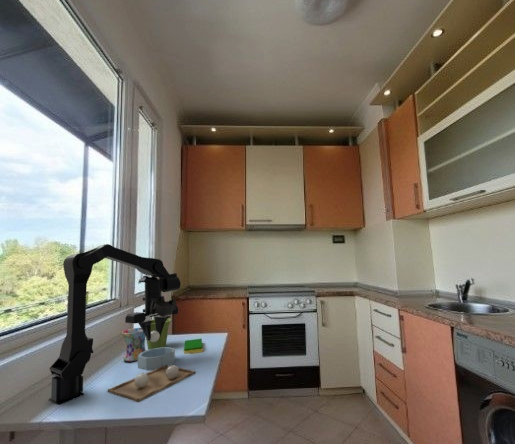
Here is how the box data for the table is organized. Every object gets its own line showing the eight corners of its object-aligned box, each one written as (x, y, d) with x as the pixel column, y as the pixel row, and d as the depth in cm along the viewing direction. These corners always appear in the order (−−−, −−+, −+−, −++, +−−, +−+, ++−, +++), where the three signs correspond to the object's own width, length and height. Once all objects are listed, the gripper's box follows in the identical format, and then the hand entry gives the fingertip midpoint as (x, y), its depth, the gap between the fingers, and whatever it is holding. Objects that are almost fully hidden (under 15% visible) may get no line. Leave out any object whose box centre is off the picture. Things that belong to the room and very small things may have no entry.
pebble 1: (139, 391, 79) (139, 376, 79) (131, 389, 81) (131, 374, 81) (151, 385, 82) (151, 371, 82) (143, 383, 84) (143, 370, 84)
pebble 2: (171, 382, 83) (171, 368, 84) (163, 380, 85) (162, 366, 86) (181, 377, 87) (181, 364, 87) (173, 375, 89) (172, 362, 89)
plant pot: (170, 350, 117) (169, 322, 119) (139, 354, 115) (139, 325, 116) (172, 342, 129) (172, 317, 130) (145, 346, 126) (144, 320, 128)
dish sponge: (184, 355, 110) (183, 349, 110) (185, 346, 123) (184, 340, 124) (202, 353, 112) (202, 346, 112) (201, 344, 125) (201, 338, 125)
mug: (145, 361, 105) (144, 331, 107) (118, 364, 104) (118, 334, 105) (152, 351, 117) (151, 325, 118) (128, 354, 115) (127, 327, 117)
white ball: (153, 344, 99) (152, 332, 99) (146, 343, 101) (146, 331, 101) (162, 341, 102) (161, 330, 103) (155, 340, 104) (155, 329, 105)
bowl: (153, 372, 93) (153, 360, 94) (131, 367, 100) (131, 355, 100) (181, 360, 103) (181, 349, 104) (160, 356, 110) (159, 345, 110)
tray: (137, 403, 72) (137, 399, 73) (107, 393, 80) (107, 389, 80) (195, 374, 89) (195, 371, 89) (165, 368, 97) (165, 365, 97)
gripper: (144, 297, 92) (145, 348, 90) (187, 290, 107) (189, 334, 105) (124, 297, 98) (124, 345, 95) (168, 291, 113) (169, 331, 111)
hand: (154, 338), depth 102 cm, fingers closed on white ball, 4 cm apart
